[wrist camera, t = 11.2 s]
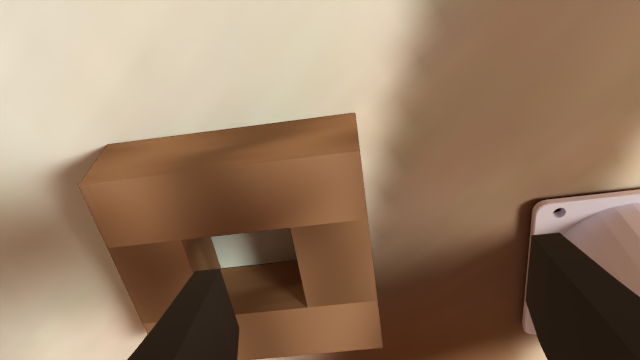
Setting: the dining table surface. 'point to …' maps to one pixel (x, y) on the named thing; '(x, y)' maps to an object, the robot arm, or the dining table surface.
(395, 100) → the dining table surface
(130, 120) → the dining table surface
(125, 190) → the brown square frame
